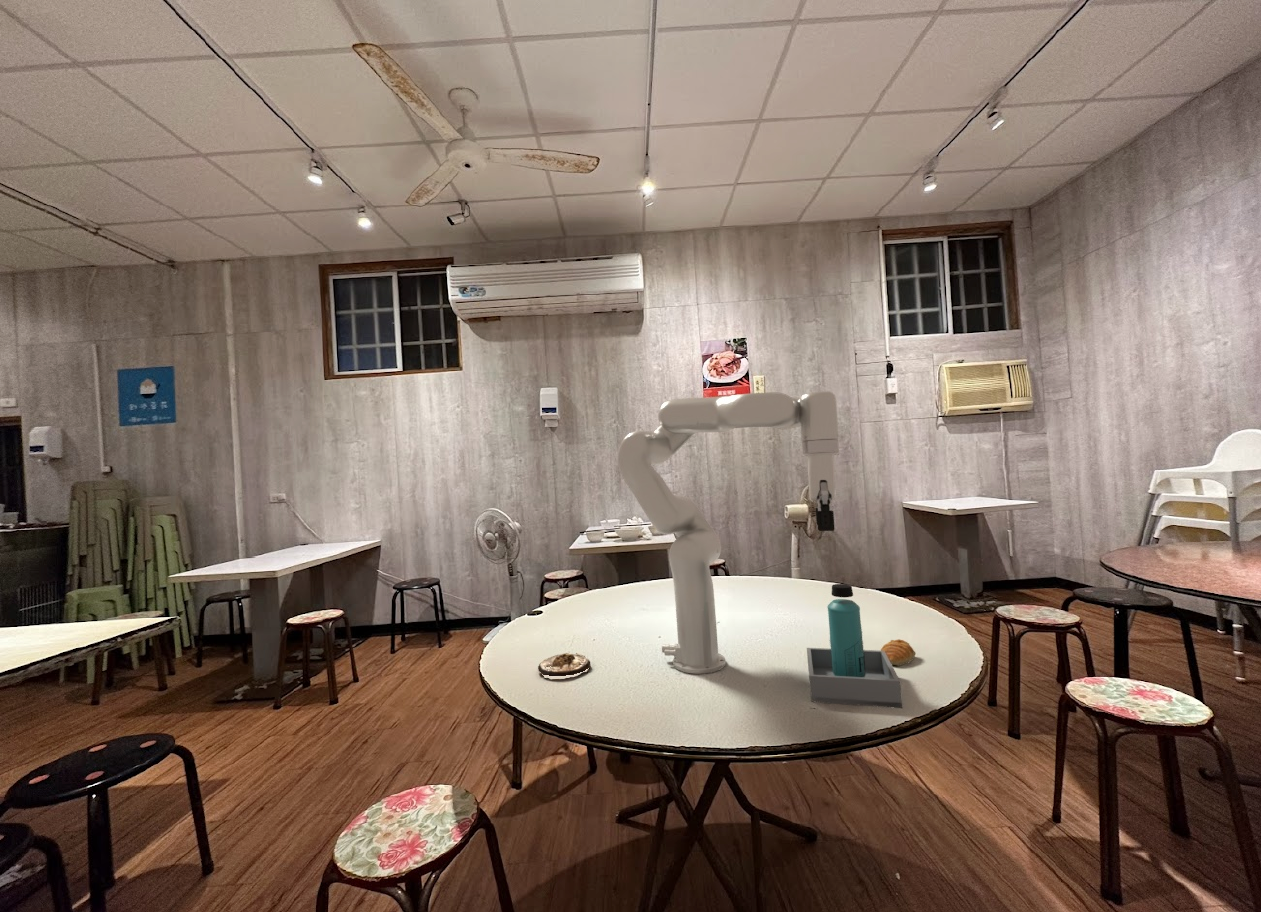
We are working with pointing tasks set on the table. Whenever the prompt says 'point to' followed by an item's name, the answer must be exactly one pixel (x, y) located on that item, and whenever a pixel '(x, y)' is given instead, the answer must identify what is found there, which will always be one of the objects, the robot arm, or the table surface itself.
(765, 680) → the table surface
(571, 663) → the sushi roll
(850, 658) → the beverage bottle
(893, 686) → the bin
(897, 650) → the pastry
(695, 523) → the robot arm
